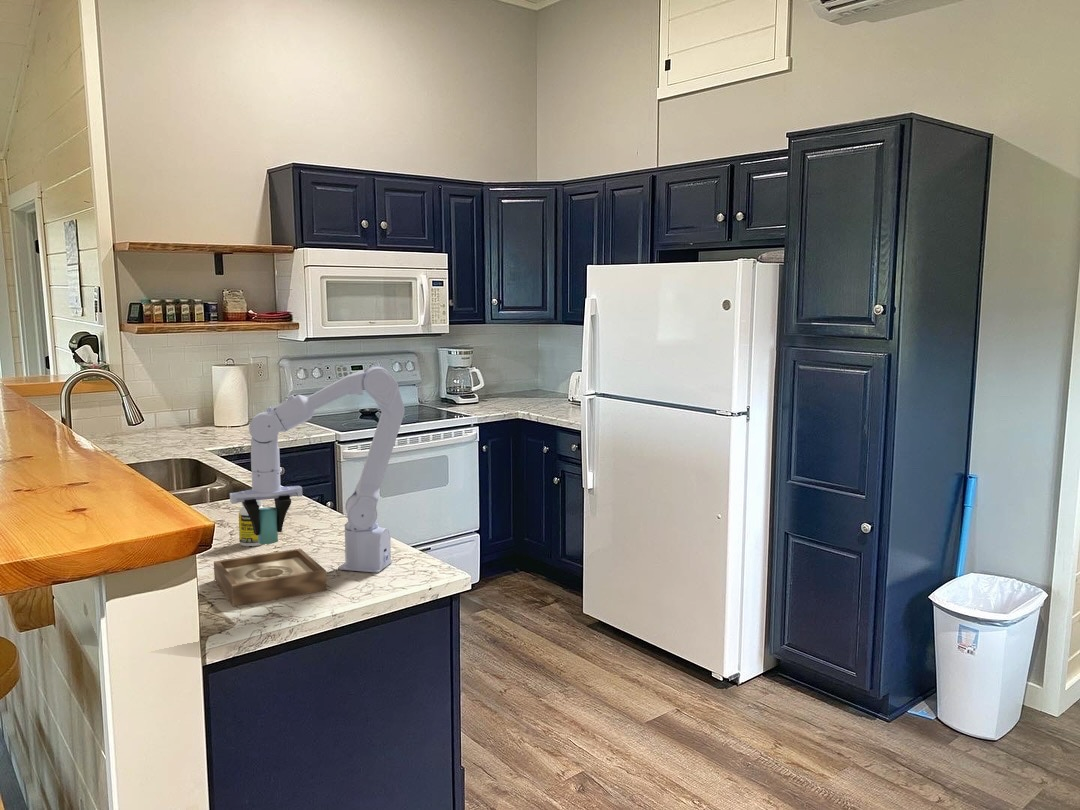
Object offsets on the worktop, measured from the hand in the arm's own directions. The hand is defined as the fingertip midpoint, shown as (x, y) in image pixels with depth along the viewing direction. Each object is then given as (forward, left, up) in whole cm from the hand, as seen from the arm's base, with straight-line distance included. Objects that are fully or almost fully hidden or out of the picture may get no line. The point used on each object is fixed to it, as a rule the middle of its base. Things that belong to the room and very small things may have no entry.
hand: (267, 532), depth 175 cm
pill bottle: (+16, -19, -9) cm, 27 cm away
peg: (0, 0, -2) cm, 2 cm away
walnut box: (-4, +7, -9) cm, 12 cm away
